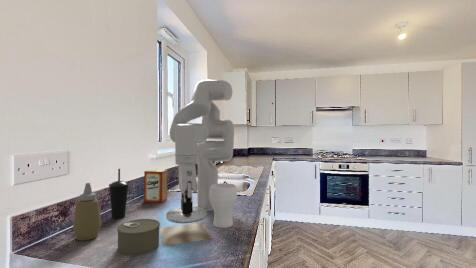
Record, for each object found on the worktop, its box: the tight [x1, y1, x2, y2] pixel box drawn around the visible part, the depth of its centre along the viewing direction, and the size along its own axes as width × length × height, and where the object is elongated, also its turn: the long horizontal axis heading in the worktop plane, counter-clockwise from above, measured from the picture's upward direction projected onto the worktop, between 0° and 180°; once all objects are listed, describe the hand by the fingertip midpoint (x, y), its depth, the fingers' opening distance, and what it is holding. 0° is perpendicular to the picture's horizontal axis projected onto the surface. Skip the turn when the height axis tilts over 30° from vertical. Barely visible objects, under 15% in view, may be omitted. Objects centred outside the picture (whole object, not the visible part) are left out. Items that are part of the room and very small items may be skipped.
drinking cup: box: [108, 168, 130, 219], centre depth 105 cm, size 8×8×20 cm
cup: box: [210, 182, 238, 229], centre depth 97 cm, size 11×11×15 cm
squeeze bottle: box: [72, 182, 102, 242], centre depth 84 cm, size 8×8×18 cm
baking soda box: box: [143, 168, 168, 204], centre depth 132 cm, size 10×6×16 cm
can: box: [116, 218, 161, 257], centre depth 77 cm, size 12×12×7 cm
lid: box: [165, 198, 208, 224], centre depth 89 cm, size 14×14×6 cm
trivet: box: [159, 222, 215, 247], centre depth 88 cm, size 16×16×1 cm
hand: (186, 210), depth 89 cm, fingers closed on lid, 3 cm apart
